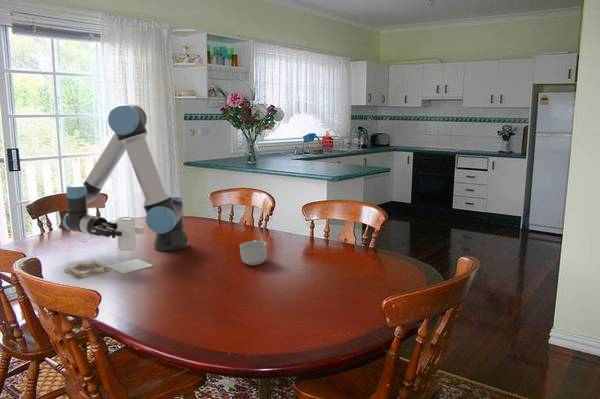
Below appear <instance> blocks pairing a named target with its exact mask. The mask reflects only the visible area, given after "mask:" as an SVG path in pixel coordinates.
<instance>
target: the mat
mask: <svg viewBox="0 0 600 399" xmlns="http://www.w3.org/2000/svg"><path fill="white" fill-rule="evenodd" d="M107 266H108V267H109V270H110V269H111V270H113V271H115V272H116V273H120V274H121V275H125V274H129V273H132V272H136V271H141V270H144V269H148V268H152V267H154V265H153V264H151V263H148V262H146V261H143V260H140V259H138V258H134V259H131V260H127V261H121V262H118V263H114V264H110V265H107Z"/></svg>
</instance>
